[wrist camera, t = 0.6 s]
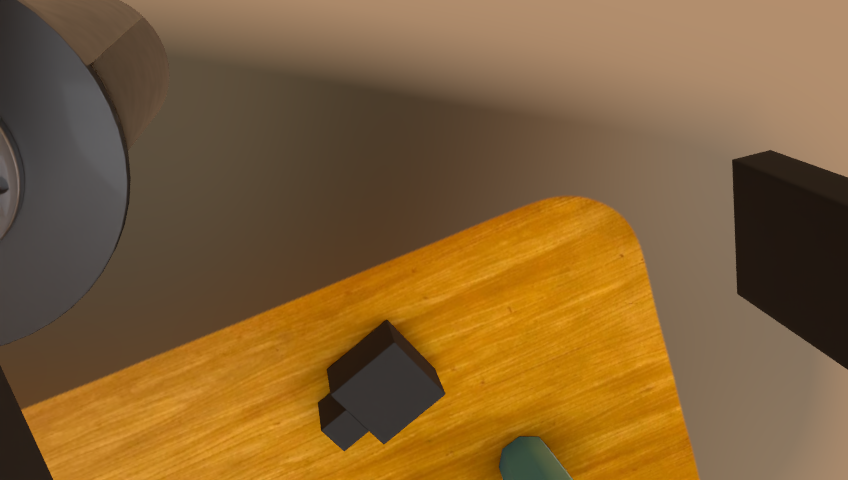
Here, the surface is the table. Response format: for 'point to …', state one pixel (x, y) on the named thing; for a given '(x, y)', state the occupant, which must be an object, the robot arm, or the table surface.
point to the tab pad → (377, 389)
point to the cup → (530, 461)
